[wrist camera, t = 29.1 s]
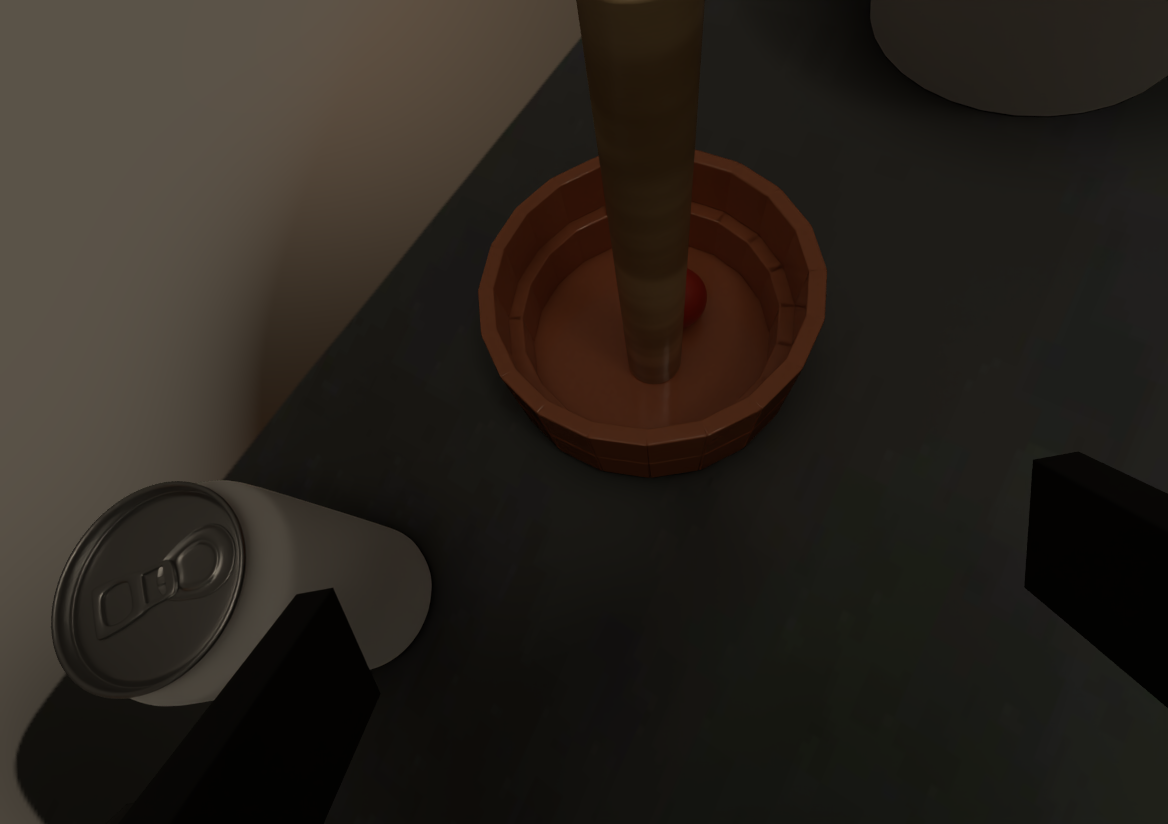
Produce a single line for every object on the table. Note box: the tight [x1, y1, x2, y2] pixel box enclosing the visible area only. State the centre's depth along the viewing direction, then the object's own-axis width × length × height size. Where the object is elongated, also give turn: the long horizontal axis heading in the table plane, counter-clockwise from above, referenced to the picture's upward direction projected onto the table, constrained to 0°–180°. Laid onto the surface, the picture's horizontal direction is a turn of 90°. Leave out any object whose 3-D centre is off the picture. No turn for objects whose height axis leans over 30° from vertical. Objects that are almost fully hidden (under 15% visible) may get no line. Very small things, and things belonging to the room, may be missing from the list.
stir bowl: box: [478, 150, 827, 478], centre depth 25 cm, size 14×14×6 cm
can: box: [51, 480, 432, 706], centre depth 20 cm, size 6×6×12 cm
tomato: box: [683, 268, 707, 328], centre depth 26 cm, size 3×3×3 cm
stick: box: [576, 0, 705, 384], centre depth 19 cm, size 3×3×18 cm
